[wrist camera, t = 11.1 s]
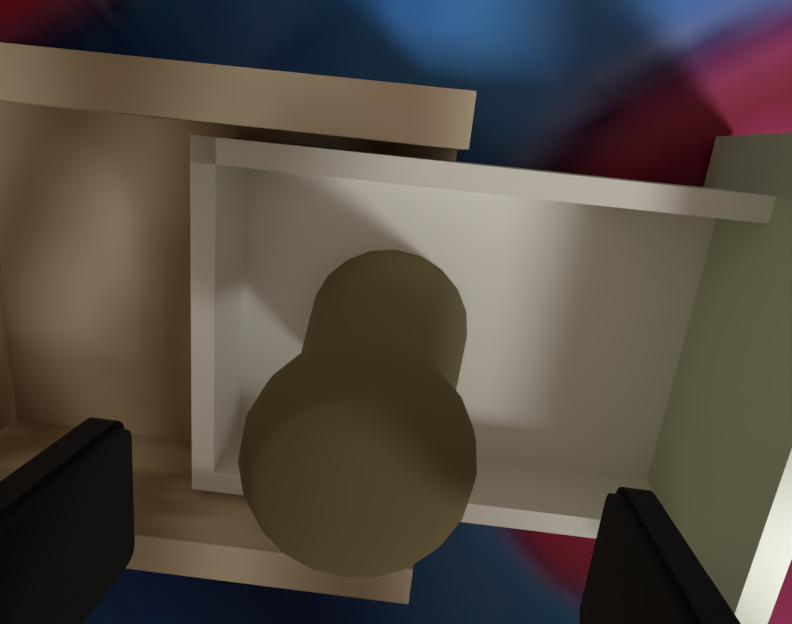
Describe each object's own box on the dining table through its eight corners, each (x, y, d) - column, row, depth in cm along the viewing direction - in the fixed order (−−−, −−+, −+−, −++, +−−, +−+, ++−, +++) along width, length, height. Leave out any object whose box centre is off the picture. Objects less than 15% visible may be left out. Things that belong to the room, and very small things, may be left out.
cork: (331, 411, 22) (245, 645, 12) (292, 267, 21) (150, 388, 10) (480, 385, 22) (529, 607, 11) (451, 234, 20) (476, 326, 9)
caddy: (461, 110, 21) (477, 91, 14) (414, 482, 25) (408, 604, 18) (-36, 59, 21) (-255, 16, 14) (6, 433, 26) (-145, 534, 19)
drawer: (743, 139, 20) (949, 131, 12) (643, 514, 24) (744, 686, 17) (240, 87, 20) (122, 47, 13) (232, 464, 25) (142, 608, 17)
